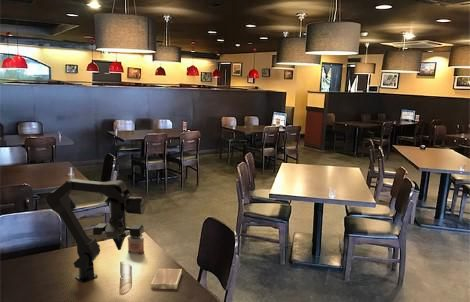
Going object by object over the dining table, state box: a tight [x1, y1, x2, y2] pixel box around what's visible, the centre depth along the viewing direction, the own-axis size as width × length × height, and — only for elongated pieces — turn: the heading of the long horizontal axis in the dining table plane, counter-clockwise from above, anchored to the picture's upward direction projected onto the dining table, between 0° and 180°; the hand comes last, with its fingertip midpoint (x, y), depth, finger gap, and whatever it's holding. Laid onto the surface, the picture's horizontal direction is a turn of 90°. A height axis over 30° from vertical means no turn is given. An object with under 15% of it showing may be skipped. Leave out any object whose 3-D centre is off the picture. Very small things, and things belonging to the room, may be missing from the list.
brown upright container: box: [127, 233, 145, 256], centre depth 173 cm, size 8×3×10 cm, turn 76°
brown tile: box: [150, 268, 183, 290], centre depth 150 cm, size 3×12×10 cm
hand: (119, 249), depth 148 cm, fingers closed
